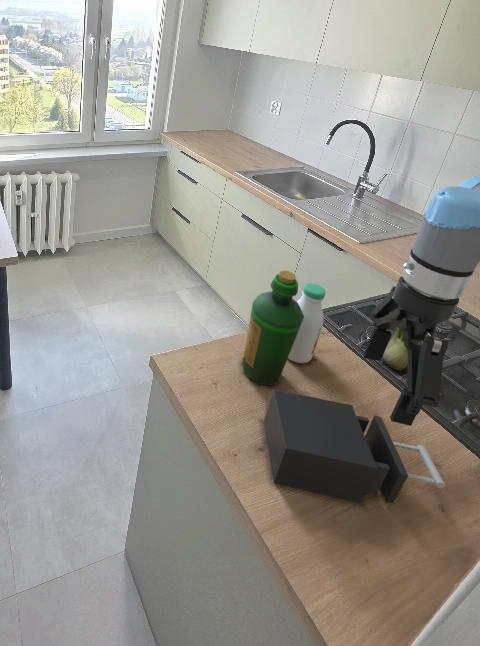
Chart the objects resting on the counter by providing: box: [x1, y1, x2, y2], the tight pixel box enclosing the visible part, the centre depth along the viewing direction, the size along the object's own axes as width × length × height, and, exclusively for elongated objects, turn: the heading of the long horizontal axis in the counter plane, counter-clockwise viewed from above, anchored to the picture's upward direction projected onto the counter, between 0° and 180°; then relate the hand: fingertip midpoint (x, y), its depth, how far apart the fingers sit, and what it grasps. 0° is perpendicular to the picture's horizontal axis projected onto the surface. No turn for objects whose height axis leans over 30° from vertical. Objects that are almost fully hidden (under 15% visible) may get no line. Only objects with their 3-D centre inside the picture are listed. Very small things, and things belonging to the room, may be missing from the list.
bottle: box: [242, 270, 304, 386], centre depth 94 cm, size 11×11×28 cm
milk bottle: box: [287, 282, 326, 364], centre depth 102 cm, size 8×8×20 cm
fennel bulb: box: [382, 327, 419, 372], centre depth 101 cm, size 6×5×12 cm
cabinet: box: [263, 389, 377, 504], centre depth 79 cm, size 15×13×10 cm
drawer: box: [356, 414, 446, 505], centre depth 77 cm, size 21×11×8 cm, turn 78°
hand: (384, 387), depth 72 cm, fingers open, 13 cm apart
